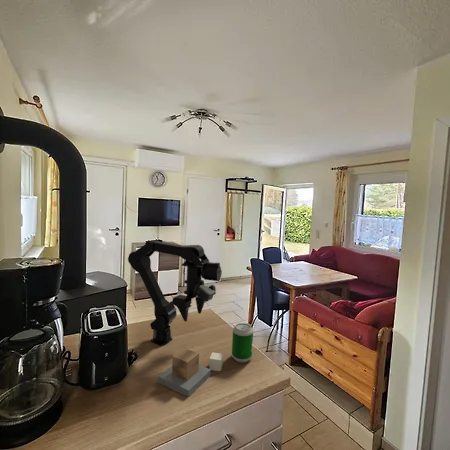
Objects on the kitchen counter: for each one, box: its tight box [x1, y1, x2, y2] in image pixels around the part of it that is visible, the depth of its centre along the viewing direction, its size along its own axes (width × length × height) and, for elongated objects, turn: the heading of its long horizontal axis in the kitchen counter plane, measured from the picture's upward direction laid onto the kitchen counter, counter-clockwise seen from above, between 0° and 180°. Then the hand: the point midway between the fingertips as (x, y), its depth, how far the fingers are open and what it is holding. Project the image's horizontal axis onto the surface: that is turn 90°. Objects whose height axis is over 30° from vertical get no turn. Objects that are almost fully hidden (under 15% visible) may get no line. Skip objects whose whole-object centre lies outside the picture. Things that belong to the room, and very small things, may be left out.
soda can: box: [231, 322, 254, 363], centre depth 99 cm, size 8×8×12 cm
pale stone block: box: [208, 352, 224, 372], centre depth 93 cm, size 4×4×4 cm
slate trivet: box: [157, 364, 212, 398], centre depth 86 cm, size 12×12×2 cm
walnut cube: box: [171, 347, 200, 381], centre depth 86 cm, size 6×6×6 cm
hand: (192, 317), depth 105 cm, fingers open, 9 cm apart
